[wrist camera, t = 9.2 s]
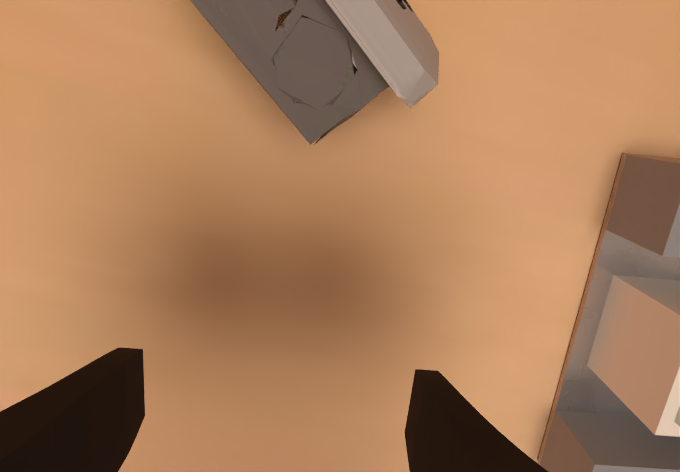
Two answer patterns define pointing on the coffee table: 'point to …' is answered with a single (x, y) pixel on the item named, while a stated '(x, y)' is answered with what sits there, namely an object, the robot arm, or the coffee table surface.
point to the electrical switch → (328, 54)
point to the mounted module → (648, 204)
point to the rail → (610, 259)
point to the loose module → (642, 349)
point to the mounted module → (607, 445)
